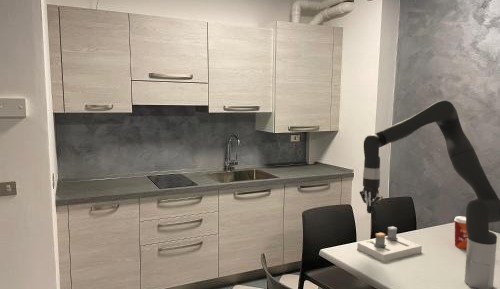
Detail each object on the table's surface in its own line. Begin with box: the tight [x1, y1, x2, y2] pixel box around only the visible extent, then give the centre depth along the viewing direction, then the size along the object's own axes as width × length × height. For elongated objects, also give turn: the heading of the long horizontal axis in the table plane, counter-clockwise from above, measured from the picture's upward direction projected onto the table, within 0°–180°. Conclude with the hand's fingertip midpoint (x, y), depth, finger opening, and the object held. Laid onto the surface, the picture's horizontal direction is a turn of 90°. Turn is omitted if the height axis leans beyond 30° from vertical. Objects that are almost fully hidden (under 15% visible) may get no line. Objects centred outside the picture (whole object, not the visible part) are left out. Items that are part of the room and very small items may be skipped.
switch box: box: [357, 235, 423, 262], centre depth 171 cm, size 24×16×3 cm, turn 117°
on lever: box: [385, 225, 398, 241], centre depth 177 cm, size 4×3×6 cm
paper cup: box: [454, 215, 468, 250], centre depth 176 cm, size 8×8×14 cm
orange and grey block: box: [374, 232, 386, 248], centre depth 168 cm, size 4×3×6 cm
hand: (369, 213), depth 173 cm, fingers closed
